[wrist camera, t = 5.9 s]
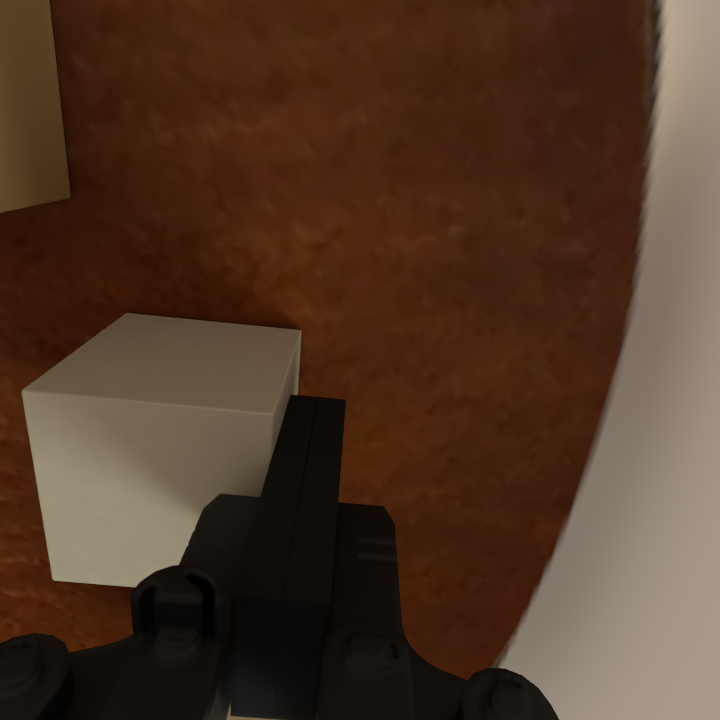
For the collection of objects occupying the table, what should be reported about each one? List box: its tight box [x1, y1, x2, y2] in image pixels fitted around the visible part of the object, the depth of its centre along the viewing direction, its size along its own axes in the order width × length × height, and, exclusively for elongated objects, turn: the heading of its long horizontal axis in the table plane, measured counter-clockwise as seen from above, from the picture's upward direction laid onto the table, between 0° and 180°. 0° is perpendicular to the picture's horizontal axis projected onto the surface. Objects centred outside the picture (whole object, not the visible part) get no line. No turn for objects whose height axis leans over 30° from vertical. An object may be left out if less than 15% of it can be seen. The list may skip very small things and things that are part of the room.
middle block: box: [22, 313, 301, 587], centre depth 14 cm, size 5×5×5 cm
